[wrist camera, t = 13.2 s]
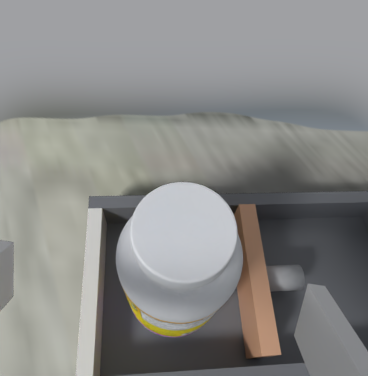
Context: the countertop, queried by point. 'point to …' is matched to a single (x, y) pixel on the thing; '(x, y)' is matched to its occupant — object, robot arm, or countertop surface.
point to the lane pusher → (260, 287)
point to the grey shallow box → (230, 312)
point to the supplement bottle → (179, 258)
